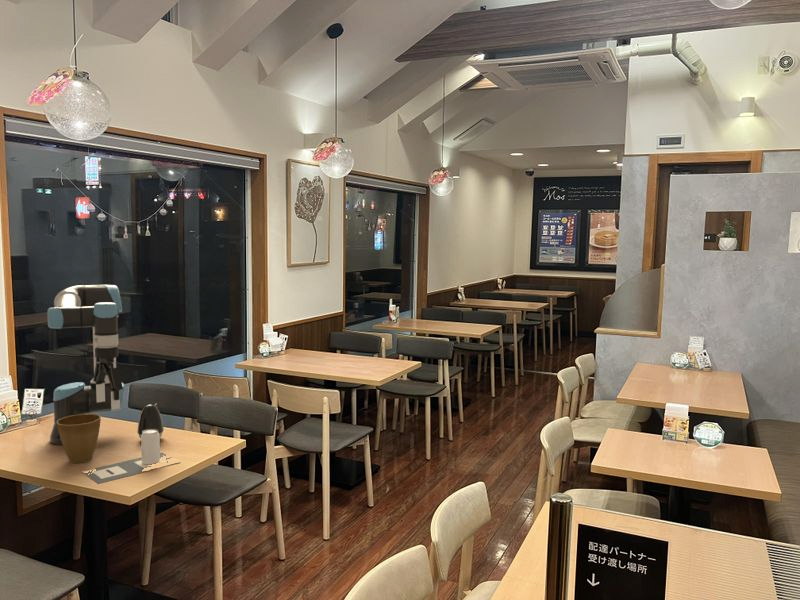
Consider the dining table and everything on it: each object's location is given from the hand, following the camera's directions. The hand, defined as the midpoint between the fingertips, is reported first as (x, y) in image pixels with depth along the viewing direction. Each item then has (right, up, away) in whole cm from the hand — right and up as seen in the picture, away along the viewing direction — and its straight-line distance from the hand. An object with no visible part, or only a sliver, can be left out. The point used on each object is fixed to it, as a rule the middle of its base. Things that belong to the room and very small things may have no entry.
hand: (108, 405), depth 222 cm
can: (+10, -24, +13) cm, 29 cm away
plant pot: (-17, -24, +15) cm, 33 cm away
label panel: (+5, -24, +8) cm, 26 cm away
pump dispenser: (-1, -22, +40) cm, 46 cm away
